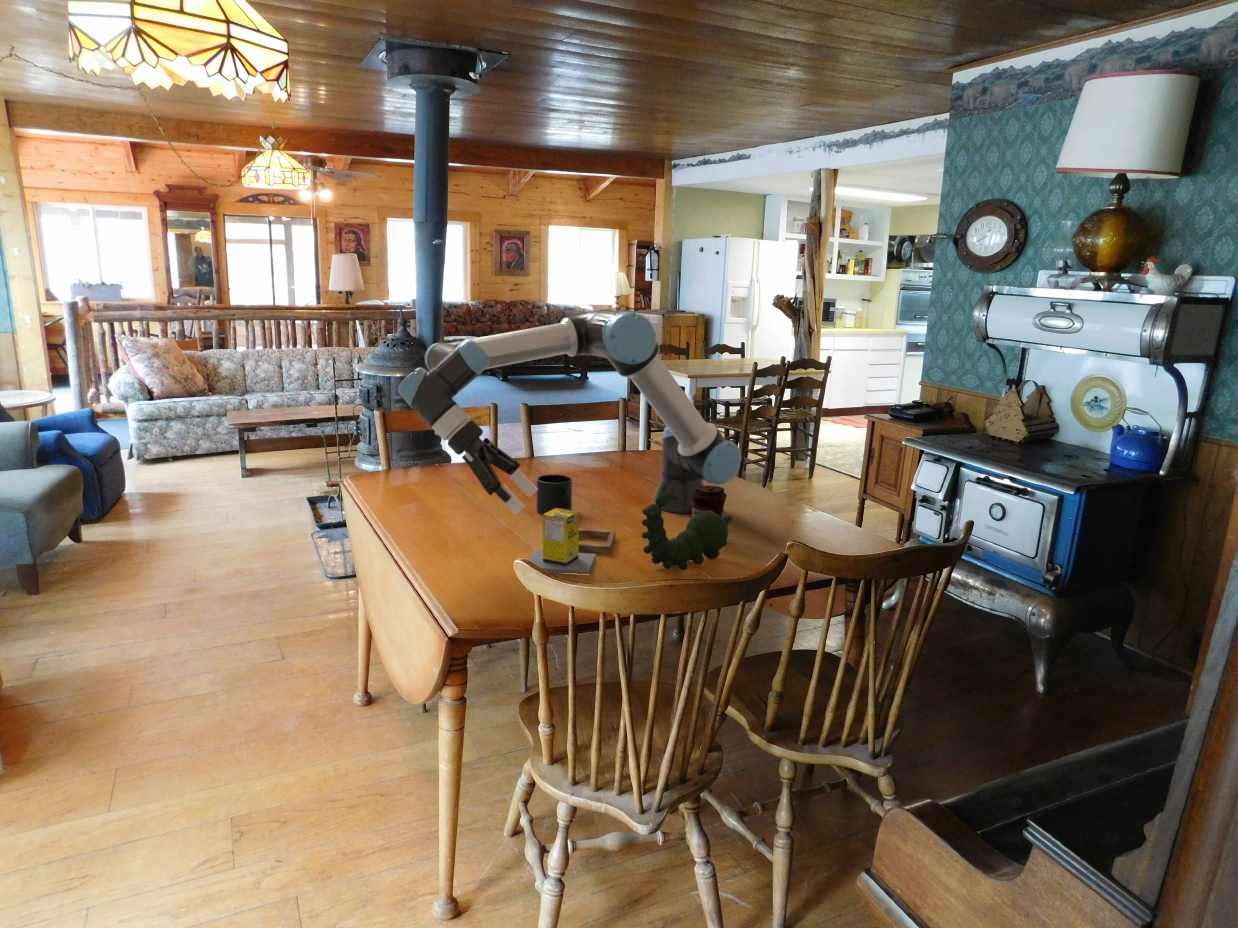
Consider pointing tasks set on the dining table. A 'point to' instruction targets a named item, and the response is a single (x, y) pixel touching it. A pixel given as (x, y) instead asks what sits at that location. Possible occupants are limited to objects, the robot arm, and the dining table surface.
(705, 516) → the toy figurine
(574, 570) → the mat
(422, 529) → the dining table surface
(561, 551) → the supplement box
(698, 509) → the coffee cup
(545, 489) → the mug
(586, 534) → the frame
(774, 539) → the dining table surface
